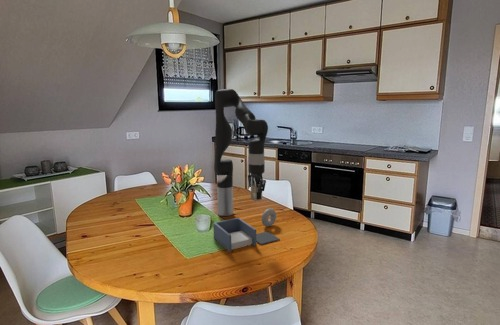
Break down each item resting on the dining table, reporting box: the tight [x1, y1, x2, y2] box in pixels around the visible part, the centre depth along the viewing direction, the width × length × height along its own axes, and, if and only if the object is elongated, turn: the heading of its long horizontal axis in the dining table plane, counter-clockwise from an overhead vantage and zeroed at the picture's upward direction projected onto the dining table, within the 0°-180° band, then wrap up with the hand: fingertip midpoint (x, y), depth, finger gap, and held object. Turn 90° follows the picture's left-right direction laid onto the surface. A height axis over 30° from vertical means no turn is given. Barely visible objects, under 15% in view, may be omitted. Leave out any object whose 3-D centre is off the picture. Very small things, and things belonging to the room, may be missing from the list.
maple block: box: [250, 184, 263, 202], centre depth 150 cm, size 4×4×7 cm
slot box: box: [212, 217, 257, 253], centre depth 152 cm, size 18×14×8 cm
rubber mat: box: [256, 231, 281, 246], centre depth 156 cm, size 11×11×1 cm
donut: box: [261, 208, 277, 228], centre depth 171 cm, size 10×4×10 cm, turn 133°
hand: (256, 197), depth 151 cm, fingers closed on maple block, 4 cm apart
